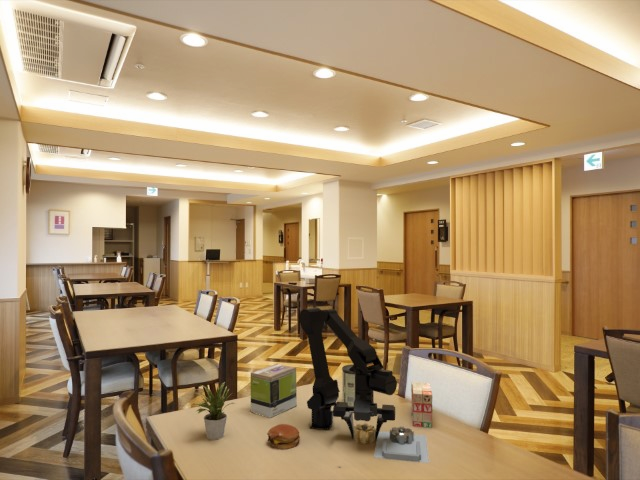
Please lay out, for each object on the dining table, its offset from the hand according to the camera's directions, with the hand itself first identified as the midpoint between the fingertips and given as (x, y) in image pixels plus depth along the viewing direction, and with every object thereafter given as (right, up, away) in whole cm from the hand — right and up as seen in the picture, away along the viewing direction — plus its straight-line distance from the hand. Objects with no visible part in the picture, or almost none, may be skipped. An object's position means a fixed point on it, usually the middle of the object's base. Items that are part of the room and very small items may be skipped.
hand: (364, 439), depth 133 cm
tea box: (-31, -2, +27) cm, 41 cm away
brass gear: (0, -1, 0) cm, 1 cm away
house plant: (-47, -1, +5) cm, 48 cm away
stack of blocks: (+22, -2, +20) cm, 30 cm away
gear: (+11, 0, 0) cm, 11 cm away
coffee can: (0, -2, +33) cm, 33 cm away
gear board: (+10, -1, -5) cm, 11 cm away
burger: (-25, -1, 0) cm, 25 cm away
